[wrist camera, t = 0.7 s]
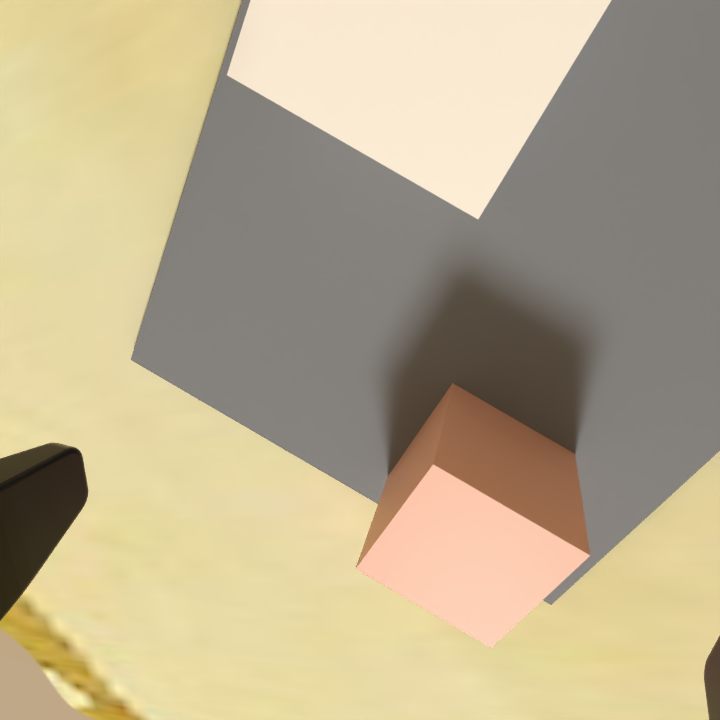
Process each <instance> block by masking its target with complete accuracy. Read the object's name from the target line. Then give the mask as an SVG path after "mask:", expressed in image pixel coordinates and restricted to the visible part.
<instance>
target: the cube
mask: <svg viewBox="0 0 720 720" xmlns="http://www.w3.org/2000/svg"><path fill="white" fill-rule="evenodd" d="M589 556H590V550H589V544H588V537H587V530H586V524H585V517H584V510H583V503H582V497H581V490H580V483H579V476H578V470H577V463H576V456H575V454H574V453H573V452H571V451H569V450H567V449H566V448H564V447H562V446H560V445H559V444H557V443H555V442H554V441H552V440H550V439H548V438H547V437H545V436H543V435H541V434H540V433H538V432H536V431H535V430H533V429H531V428H529V427H528V426H526V425H524V424H522V423H521V422H519V421H517V420H516V419H514V418H512V417H510V416H509V415H507V414H505V413H503V412H502V411H500V410H498V409H497V408H495V407H493V406H491V405H490V404H488V403H486V402H484V401H483V400H481V399H479V398H478V397H476V396H474V395H472V394H471V393H469V392H467V391H465V390H464V389H462V388H460V387H459V386H457V385H455V384H453V383H452V385H451V386H450V388H449V389H448V391H447V392H446V393H445V395H444V396H443V398H442V399H441V401H440V402H439V403H438V405H437V406H436V408H435V409H434V411H433V412H432V414H431V415H430V416H429V418H428V419H427V421H426V422H425V424H424V425H423V427H422V428H421V429H420V431H419V432H418V434H417V435H416V437H415V438H414V439H413V441H412V442H411V444H410V445H409V447H408V448H407V450H406V451H405V452H404V454H403V455H402V457H401V458H400V460H399V461H398V463H397V464H396V465H395V467H394V468H393V470H392V471H391V473H390V474H389V475H388V478H387V481H386V484H385V486H384V489H383V492H382V495H381V498H380V501H379V504H378V506H377V509H376V512H375V515H374V518H373V521H372V523H371V526H370V529H369V532H368V535H367V538H366V541H365V543H364V546H363V549H362V552H361V555H360V558H359V561H358V563H357V566H356V569H357V570H358V571H360V572H362V573H363V574H365V575H367V576H369V577H370V578H372V579H374V580H375V581H377V582H379V583H381V584H382V585H384V586H386V587H387V588H389V589H391V590H393V591H394V592H396V593H398V594H399V595H401V596H403V597H405V598H406V599H408V600H410V601H411V602H413V603H415V604H416V605H418V606H420V607H422V608H423V609H425V610H427V611H428V612H430V613H432V614H434V615H435V616H437V617H439V618H440V619H442V620H444V621H446V622H447V623H449V624H451V625H452V626H454V627H456V628H457V629H459V630H461V631H463V632H464V633H466V634H468V635H469V636H471V637H473V638H475V639H476V640H478V641H480V642H481V643H483V644H485V645H487V646H488V647H490V648H492V647H493V646H494V645H495V644H496V643H497V642H498V641H499V640H500V639H502V638H503V637H504V636H505V635H506V634H507V633H508V632H509V631H510V630H511V629H512V628H513V627H514V626H515V625H517V624H518V623H519V622H520V621H521V620H522V619H523V618H524V617H525V616H526V615H527V614H528V613H529V612H530V611H531V610H533V609H534V608H535V607H536V606H537V605H538V604H539V603H540V602H541V601H542V600H543V599H544V598H545V597H546V596H548V595H549V594H550V593H551V592H552V591H553V590H554V589H555V588H556V587H557V586H558V585H559V584H560V583H561V582H563V581H564V580H565V579H566V578H567V577H568V576H569V575H570V574H571V573H572V572H573V571H574V570H575V569H576V568H578V567H579V566H580V565H581V564H582V563H583V562H584V561H585V560H586V559H587V558H588V557H589Z"/></svg>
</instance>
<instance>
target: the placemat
mask: <svg viewBox="0 0 720 720" xmlns="http://www.w3.org/2000/svg"><path fill="white" fill-rule="evenodd" d="M249 3H250V0H242V3H241V6H240V9H239V13H238V16H237V19H236V22H235V26H234V29H233V32H232V35H231V38H230V42H229V45H228V48H227V51H226V55H225V58H224V61H223V64H222V67H221V71H220V74H219V77H218V80H217V84H216V87H215V90H214V93H213V96H212V100H211V103H210V106H209V109H208V113H207V116H206V119H205V122H204V125H203V129H202V132H201V135H200V138H199V142H198V145H197V148H196V151H195V154H194V158H193V161H192V164H191V167H190V171H189V174H188V177H187V180H186V184H185V187H184V190H183V193H182V196H181V200H180V203H179V206H178V209H177V213H176V216H175V219H174V222H173V225H172V229H171V232H170V235H169V238H168V242H167V245H166V248H165V251H164V254H163V258H162V261H161V264H160V267H159V271H158V274H157V277H156V280H155V283H154V287H153V290H152V293H151V296H150V300H149V303H148V306H147V309H146V312H145V316H144V319H143V322H142V325H141V329H140V332H139V335H138V338H137V341H136V345H135V348H134V351H133V354H132V358H131V360H132V361H134V362H136V363H137V364H139V365H141V366H142V367H144V368H146V369H148V370H149V371H151V372H153V373H154V374H156V375H158V376H160V377H161V378H163V379H165V380H166V381H168V382H170V383H172V384H173V385H175V386H177V387H178V388H180V389H182V390H184V391H185V392H187V393H189V394H190V395H192V396H194V397H196V398H197V399H199V400H201V401H202V402H204V403H206V404H208V405H209V406H211V407H213V408H214V409H216V410H218V411H220V412H221V413H223V414H225V415H226V416H228V417H230V418H232V419H233V420H235V421H237V422H238V423H240V424H242V425H244V426H245V427H247V428H249V429H250V430H252V431H254V432H256V433H257V434H259V435H261V436H262V437H264V438H266V439H268V440H269V441H271V442H273V443H274V444H276V445H278V446H280V447H281V448H283V449H285V450H286V451H288V452H290V453H292V454H293V455H295V456H297V457H298V458H300V459H302V460H304V461H305V462H307V463H309V464H310V465H312V466H314V467H316V468H317V469H319V470H321V471H322V472H324V473H326V474H328V475H329V476H331V477H333V478H334V479H336V480H338V481H340V482H341V483H343V484H345V485H346V486H348V487H350V488H352V489H353V490H355V491H357V492H358V493H360V494H362V495H364V496H365V497H367V498H369V499H370V500H372V501H374V502H376V503H377V504H379V501H380V498H381V495H382V492H383V489H384V486H385V484H386V481H387V478H388V475H389V474H390V473H391V471H392V470H393V468H394V467H395V465H396V464H397V463H398V461H399V460H400V458H401V457H402V455H403V454H404V452H405V451H406V450H407V448H408V447H409V445H410V444H411V442H412V441H413V439H414V438H415V437H416V435H417V434H418V432H419V431H420V429H421V428H422V427H423V425H424V424H425V422H426V421H427V419H428V418H429V416H430V415H431V414H432V412H433V411H434V409H435V408H436V406H437V405H438V403H439V402H440V401H441V399H442V398H443V396H444V395H445V393H446V392H447V391H448V389H449V388H450V386H451V385H452V383H453V384H455V385H457V386H459V387H460V388H462V389H464V390H465V391H467V392H469V393H471V394H472V395H474V396H476V397H478V398H479V399H481V400H483V401H484V402H486V403H488V404H490V405H491V406H493V407H495V408H497V409H498V410H500V411H502V412H503V413H505V414H507V415H509V416H510V417H512V418H514V419H516V420H517V421H519V422H521V423H522V424H524V425H526V426H528V427H529V428H531V429H533V430H535V431H536V432H538V433H540V434H541V435H543V436H545V437H547V438H548V439H550V440H552V441H554V442H555V443H557V444H559V445H560V446H562V447H564V448H566V449H567V450H569V451H571V452H573V453H574V454H575V456H576V463H577V470H578V476H579V483H580V490H581V497H582V503H583V510H584V517H585V524H586V530H587V537H588V544H589V550H590V556H589V557H588V558H587V559H586V560H585V561H584V562H583V563H582V564H581V565H580V566H579V567H578V568H576V569H575V570H574V571H573V572H572V573H571V574H570V575H569V576H568V577H567V578H566V579H565V580H564V581H563V582H561V583H560V584H559V585H558V586H557V587H556V588H555V589H554V590H553V591H552V592H551V593H550V594H549V595H548V596H546V597H545V598H544V599H543V600H544V601H545V602H547V603H549V604H550V605H552V604H553V603H554V602H555V601H556V600H557V599H558V598H559V597H560V596H561V595H562V594H564V593H565V592H566V591H567V590H568V589H569V588H570V587H571V586H572V585H573V584H574V583H576V582H577V581H578V580H579V579H580V578H581V577H582V576H583V575H584V574H585V573H587V572H588V571H589V570H590V569H591V568H592V567H593V566H594V565H595V564H596V563H597V562H599V561H600V560H601V559H602V558H603V557H604V556H605V555H606V554H607V553H608V552H609V551H611V550H612V549H613V548H614V547H615V546H616V545H617V544H618V543H619V542H620V541H621V540H623V539H624V538H625V537H626V536H627V535H628V534H629V533H630V532H631V531H632V530H633V529H635V528H636V527H637V526H638V525H639V524H640V523H641V522H642V521H643V520H644V519H645V518H647V517H648V516H649V515H650V514H651V513H652V512H653V511H654V510H655V509H656V508H658V507H659V506H660V505H661V504H662V503H663V502H664V501H665V500H666V499H667V498H668V497H670V496H671V495H672V494H673V493H674V492H675V491H676V490H677V489H678V488H679V487H680V486H682V485H683V484H684V483H685V482H686V481H687V480H688V479H689V478H690V477H691V476H692V475H694V474H695V473H696V472H697V471H698V470H699V469H700V468H701V467H702V466H703V465H704V464H706V463H707V462H708V461H709V460H710V459H711V458H712V457H713V456H714V455H715V454H716V453H718V452H719V451H720V0H611V2H610V4H609V5H608V7H607V8H606V10H605V12H604V13H603V15H602V17H601V18H600V20H599V22H598V23H597V25H596V27H595V28H594V30H593V32H592V33H591V35H590V36H589V38H588V40H587V41H586V43H585V45H584V46H583V48H582V50H581V51H580V53H579V55H578V56H577V58H576V59H575V61H574V63H573V64H572V66H571V68H570V69H569V71H568V73H567V74H566V76H565V78H564V79H563V81H562V83H561V84H560V86H559V87H558V89H557V91H556V92H555V94H554V96H553V97H552V99H551V101H550V102H549V104H548V106H547V107H546V109H545V110H544V112H543V114H542V115H541V117H540V119H539V120H538V122H537V124H536V125H535V127H534V129H533V130H532V132H531V133H530V135H529V137H528V138H527V140H526V142H525V143H524V145H523V147H522V148H521V150H520V152H519V153H518V155H517V157H516V158H515V160H514V161H513V163H512V165H511V166H510V168H509V170H508V171H507V173H506V175H505V176H504V178H503V180H502V181H501V183H500V184H499V186H498V188H497V189H496V191H495V193H494V194H493V196H492V198H491V199H490V201H489V203H488V204H487V206H486V207H485V209H484V211H483V212H482V214H481V216H480V217H479V219H476V218H475V217H473V216H471V215H469V214H468V213H466V212H464V211H462V210H461V209H459V208H457V207H455V206H454V205H452V204H450V203H448V202H447V201H445V200H443V199H442V198H440V197H438V196H436V195H435V194H433V193H431V192H429V191H428V190H426V189H424V188H422V187H421V186H419V185H417V184H415V183H414V182H412V181H410V180H408V179H407V178H405V177H403V176H401V175H400V174H398V173H396V172H395V171H393V170H391V169H389V168H388V167H386V166H384V165H382V164H381V163H379V162H377V161H375V160H374V159H372V158H370V157H368V156H367V155H365V154H363V153H361V152H360V151H358V150H356V149H354V148H353V147H351V146H349V145H348V144H346V143H344V142H342V141H341V140H339V139H337V138H335V137H334V136H332V135H330V134H328V133H327V132H325V131H323V130H321V129H320V128H318V127H316V126H314V125H313V124H311V123H309V122H307V121H306V120H304V119H302V118H301V117H299V116H297V115H295V114H294V113H292V112H290V111H288V110H287V109H285V108H283V107H281V106H280V105H278V104H276V103H274V102H273V101H271V100H269V99H267V98H266V97H264V96H262V95H261V94H259V93H257V92H255V91H254V90H252V89H250V88H248V87H247V86H245V85H243V84H241V83H240V82H238V81H236V80H234V79H233V78H231V77H229V76H227V73H228V70H229V67H230V63H231V60H232V57H233V54H234V51H235V48H236V44H237V41H238V38H239V35H240V32H241V29H242V25H243V22H244V19H245V16H246V13H247V10H248V7H249Z"/></svg>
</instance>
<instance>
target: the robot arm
mask: <svg viewBox="0 0 720 720" xmlns="http://www.w3.org/2000/svg"><path fill="white" fill-rule="evenodd" d="M87 497H88V486H87V480H86V474H85V468H84V462H83V457H82V454H81V452H80V451H79V450H78V449H77V448H75V447H71V446H67V445H63V444H59V443H49V444H45V445H42V446H39V447H36V448H33V449H29V450H26V451H23V452H20V453H17V454H14V455H10V456H7V457H4V458H1V459H0V621H1V620H2V618H3V617H4V616H5V615H6V614H7V612H8V611H9V610H10V609H11V608H12V606H13V605H14V604H15V603H16V601H17V600H18V599H19V598H20V596H21V595H22V594H23V592H24V591H25V590H26V588H27V587H28V586H29V584H30V583H31V581H32V580H33V579H34V577H35V576H36V574H37V573H38V572H39V570H40V569H41V567H42V566H43V564H44V563H45V562H46V560H47V559H48V557H49V556H50V554H51V553H52V552H53V550H54V549H55V547H56V546H57V544H58V543H59V541H60V540H61V539H62V537H63V536H64V534H65V533H66V531H67V530H68V529H69V527H70V526H71V524H72V523H73V521H74V520H75V519H76V517H77V516H78V514H79V513H80V511H81V510H82V508H83V507H84V505H85V503H86V500H87ZM704 682H705V690H706V698H707V706H708V714H709V720H720V636H719V638H718V640H717V642H716V643H715V645H714V647H713V649H712V651H711V653H710V654H709V656H708V658H707V661H706V664H705V670H704Z"/></svg>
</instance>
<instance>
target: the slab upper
mask: <svg viewBox="0 0 720 720" xmlns="http://www.w3.org/2000/svg"><path fill="white" fill-rule="evenodd" d="M610 2H611V0H250V3H249V7H248V10H247V13H246V16H245V19H244V22H243V25H242V29H241V32H240V35H239V38H238V41H237V44H236V48H235V51H234V54H233V57H232V60H231V63H230V67H229V70H228V73H227V76H229V77H231V78H233V79H234V80H236V81H238V82H240V83H241V84H243V85H245V86H247V87H248V88H250V89H252V90H254V91H255V92H257V93H259V94H261V95H262V96H264V97H266V98H267V99H269V100H271V101H273V102H274V103H276V104H278V105H280V106H281V107H283V108H285V109H287V110H288V111H290V112H292V113H294V114H295V115H297V116H299V117H301V118H302V119H304V120H306V121H307V122H309V123H311V124H313V125H314V126H316V127H318V128H320V129H321V130H323V131H325V132H327V133H328V134H330V135H332V136H334V137H335V138H337V139H339V140H341V141H342V142H344V143H346V144H348V145H349V146H351V147H353V148H354V149H356V150H358V151H360V152H361V153H363V154H365V155H367V156H368V157H370V158H372V159H374V160H375V161H377V162H379V163H381V164H382V165H384V166H386V167H388V168H389V169H391V170H393V171H395V172H396V173H398V174H400V175H401V176H403V177H405V178H407V179H408V180H410V181H412V182H414V183H415V184H417V185H419V186H421V187H422V188H424V189H426V190H428V191H429V192H431V193H433V194H435V195H436V196H438V197H440V198H442V199H443V200H445V201H447V202H448V203H450V204H452V205H454V206H455V207H457V208H459V209H461V210H462V211H464V212H466V213H468V214H469V215H471V216H473V217H475V218H476V219H479V217H480V216H481V214H482V212H483V211H484V209H485V207H486V206H487V204H488V203H489V201H490V199H491V198H492V196H493V194H494V193H495V191H496V189H497V188H498V186H499V184H500V183H501V181H502V180H503V178H504V176H505V175H506V173H507V171H508V170H509V168H510V166H511V165H512V163H513V161H514V160H515V158H516V157H517V155H518V153H519V152H520V150H521V148H522V147H523V145H524V143H525V142H526V140H527V138H528V137H529V135H530V133H531V132H532V130H533V129H534V127H535V125H536V124H537V122H538V120H539V119H540V117H541V115H542V114H543V112H544V110H545V109H546V107H547V106H548V104H549V102H550V101H551V99H552V97H553V96H554V94H555V92H556V91H557V89H558V87H559V86H560V84H561V83H562V81H563V79H564V78H565V76H566V74H567V73H568V71H569V69H570V68H571V66H572V64H573V63H574V61H575V59H576V58H577V56H578V55H579V53H580V51H581V50H582V48H583V46H584V45H585V43H586V41H587V40H588V38H589V36H590V35H591V33H592V32H593V30H594V28H595V27H596V25H597V23H598V22H599V20H600V18H601V17H602V15H603V13H604V12H605V10H606V8H607V7H608V5H609V4H610Z"/></svg>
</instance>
